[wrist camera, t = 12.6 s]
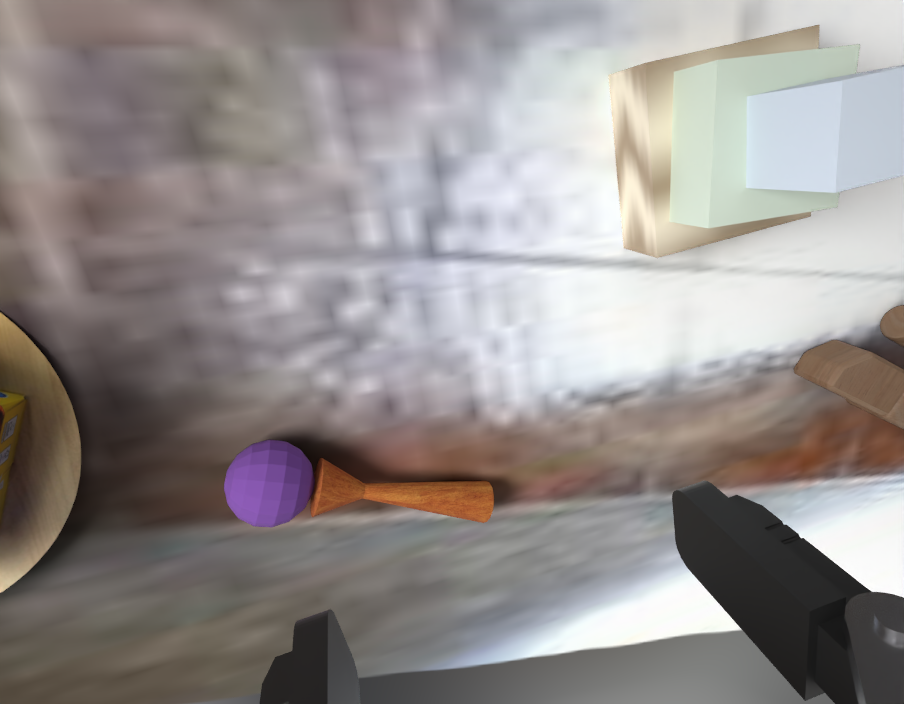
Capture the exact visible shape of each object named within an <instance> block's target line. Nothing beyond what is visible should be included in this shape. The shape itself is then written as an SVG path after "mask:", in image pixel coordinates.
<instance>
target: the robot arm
mask: <svg viewBox="0 0 904 704" xmlns="http://www.w3.org/2000/svg"><path fill="white" fill-rule="evenodd" d="M672 502H673V514H674V527H675V540H676V545H677V549H678V551H679V554H680V556H681V558H682V560H683V562H684V563H685V565H686V566H687V568H688V569H689V570H690V571H691V572H692V574H693V575H694V576H695V577H696V578H697V579H698V580H699V581H700V583H701V584H702V585H703V586H704V587H705V588H706V589H707V590H708V592H709V593H710V594H711V595H712V596H713V597H714V598H715V600H716V601H717V602H718V603H719V604H720V605H721V606H722V607H723V609H724V610H725V611H726V612H727V613H728V614H729V615H730V617H731V618H732V619H733V620H734V621H735V622H736V623H737V624H738V626H739V627H740V628H741V629H742V630H743V631H744V632H745V633H746V635H747V636H748V637H749V638H750V639H751V640H752V641H753V643H755V645H756V646H757V647H758V648H759V649H760V650H761V652H762V653H763V654H764V655H765V656H766V657H767V658H768V659H769V661H770V662H771V663H772V664H773V665H774V666H775V667H776V669H777V670H778V671H779V672H780V673H781V674H782V675H783V676H784V678H785V679H786V680H787V681H788V682H789V683H790V684H791V686H792V687H793V688H794V689H795V690H796V691H797V692H798V693H799V695H800V696H801V697H802V698H803V699H804V700H805V701H806V700H808V699H811V698H813V697H816V696H818V695H820V694H823V693H826V694H827V695H828V697H829V698H830V699H831V700H832V701H833V702H834V703H835V704H904V598H903V597H900V596H897V595H893V594H888V593H882V592H871V591H870V590H868V589H867V588H866V587H864V586H863V585H862V584H861V583H859V582H858V581H857V580H856V579H854V578H853V577H852V576H851V575H849V574H848V573H847V572H845V571H844V570H843V569H842V568H840V567H839V566H838V565H837V564H835V563H834V562H833V561H832V560H830V559H829V558H828V557H827V556H825V555H824V554H823V553H821V552H820V551H819V550H818V549H816V548H815V547H814V546H813V545H811V544H810V543H809V542H808V541H806V540H805V539H804V538H802V539H801V538H800V537H799V534H797V533H796V532H795V531H794V530H792V529H791V528H790V527H789V526H787V525H784V524H783V523H782V521H781V520H780V519H778V518H777V517H776V516H775V515H773V514H772V513H771V512H770V511H768V510H767V509H766V508H765V507H763V506H762V505H760V504H757V503H755V502H753V501H750V500H748V499H746V498H743V497H741V496H738V495H735V496H732V497H729V498H728V497H727V496H726V495H725V494H723V493H722V492H721V491H720V490H719V489H717V488H716V487H715V486H714V485H713V484H711V483H710V482H708V481H702V482H699V483H696V484H693V485H690V486H687V487H684V488H681V489H679V490H676V491H674V492H673V495H672ZM260 704H360V691H359V682H358V675H357V670H356V666H355V663H354V659H353V657H352V654H351V652H350V649H349V647H348V645H347V642H346V640H345V638H344V635H343V633H342V631H341V628H340V626H339V624H338V621H337V619H336V616H335V614H334V612H333V611H332V610H327V611H325V612H322V613H319V614H316V615H313V616H310V617H307V618H304V619H302V620H299V621H297V622H296V623H295V626H294V637H293V650H292V651H291V652H289V653H286V654H283V655H280V656H277V657H275V659H274V661H273V663H272V665H271V667H270V669H269V671H268V673H267V675H266V677H265V679H264V681H263V683H262V689H261V697H260Z"/></svg>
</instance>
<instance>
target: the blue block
mask: <svg viewBox="0 0 904 704" xmlns="http://www.w3.org/2000/svg"><path fill="white" fill-rule="evenodd" d="M903 175H904V65H901V66H896V67H890V68H884V69H879V70H873V71H867V72H862V73H856V74H850V75H845V76H839V77H833V78H828V79H823V80H818V81H814V82H809V83H805V84H800V85H796V86H791V87H787V88H783V89H778V90H774V91H769V92H765V93H760V94H756V95H751V96H747V145H746V188H754V189H772V190H791V191H809V192H828V193H837V192H841V191H845V190H849V189H852V188H856V187H860V186H864V185H868V184H872V183H876V182H880V181H884V180H888V179H892V178H895V177H899V176H903Z"/></svg>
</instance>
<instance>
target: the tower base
mask: <svg viewBox="0 0 904 704" xmlns="http://www.w3.org/2000/svg"><path fill="white" fill-rule="evenodd" d="M818 46H819V25H816V26H811V27H807V28H802V29H797V30H793V31H788V32H784V33H779V34H775V35H770V36H766V37H761V38H757V39H752V40H748V41H743V42H739V43H734V44H730V45H725V46H720V47H716V48H711V49H707V50H702V51H698V52H693V53H689V54H684V55H680V56H675V57H671V58H666V59H662V60H657V61H652V62H648V63H644V64H641V65H638V66H635V67H632V68H629V69H626V70H622V71H619V72H616V73H613V74H610V75H608V76H609V87H610V98H611V110H612V121H613V133H614V144H615V155H616V167H617V178H618V189H619V201H620V212H621V223H622V235H623V246H624V248H625V249H629V250H632V251H636V252H639V253H642V254H646V255H649V256H653V257H656V258H658V257H662V256H666V255H670V254H673V253H677V252H681V251H684V250H688V249H692V248H695V247H699V246H703V245H706V244H710V243H714V242H718V241H721V240H725V239H729V238H732V237H736V236H740V235H743V234H747V233H751V232H754V231H758V230H762V229H766V228H769V227H773V226H777V225H780V224H784V223H788V222H791V221H795V220H799V219H803V218H806V217H810V216H811V212H806V213H800V214H794V215H787V216H781V217H775V218H769V219H763V220H757V221H751V222H745V223H739V224H732V225H726V226H720V227H714V228H703V227H697V226H691V225H685V224H679V223H674V222H669V218H670V184H671V150H672V116H673V83H674V72H675V71H679V70H682V69H686V68H690V67H693V66H697V65H701V64H704V63H708V62H712V61H715V60H720V59H730V58H739V57H748V56H757V55H766V54H775V53H784V52H794V51H803V50H812V49H818Z"/></svg>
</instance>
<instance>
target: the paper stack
mask: <svg viewBox="0 0 904 704" xmlns="http://www.w3.org/2000/svg"><path fill="white" fill-rule="evenodd" d="M80 471H81V443H80V435H79V430H78V425H77V421H76V418H75V414H74V411H73V407H72V405H71V402H70V399H69V397H68V395H67V393H66V390H65V388H64V387H63V385H62V383H61V381H60V379H59V377H58V375H57V374H56V372H55V371H54V369H53V367H52V366H51V365H50V363H49V362H48V360H47V359H46V357H45V356H44V355H43V354H42V352H41V351H40V350H39V349H38V348H37V346H36V345H35V344H34V343H33V342H32V341H31V340H30V339H29V338H28V337H27V336H26V334H25V333H24V332H23V331H21V330H20V329H19V328H18V327H17V326H16V325H15V324H14V323H13V322H11V321H10V320H9V319H8V318H7V317H5V316H4V315H3V314H2V313H0V593H1V592H3V591H4V590H5V589H7V588H8V587H10V586H11V585H12V584H14V583H15V582H16V581H17V580H19V579H20V578H21V577H22V576H23V575H25V574H26V573H27V572H28V571H29V570H30V569H31V568H32V567H33V566H34V565H35V564H36V563H37V562H38V561H39V560H40V559H41V558H42V556H43V555H44V554H45V553H46V552H47V550H48V549H49V548H50V546H51V545H52V544H53V542H54V541H55V539H56V538H57V536H58V535H59V533H60V531H61V530H62V528H63V526H64V524H65V522H66V520H67V518H68V516H69V514H70V511H71V509H72V506H73V503H74V500H75V497H76V493H77V489H78V484H79V479H80Z"/></svg>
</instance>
